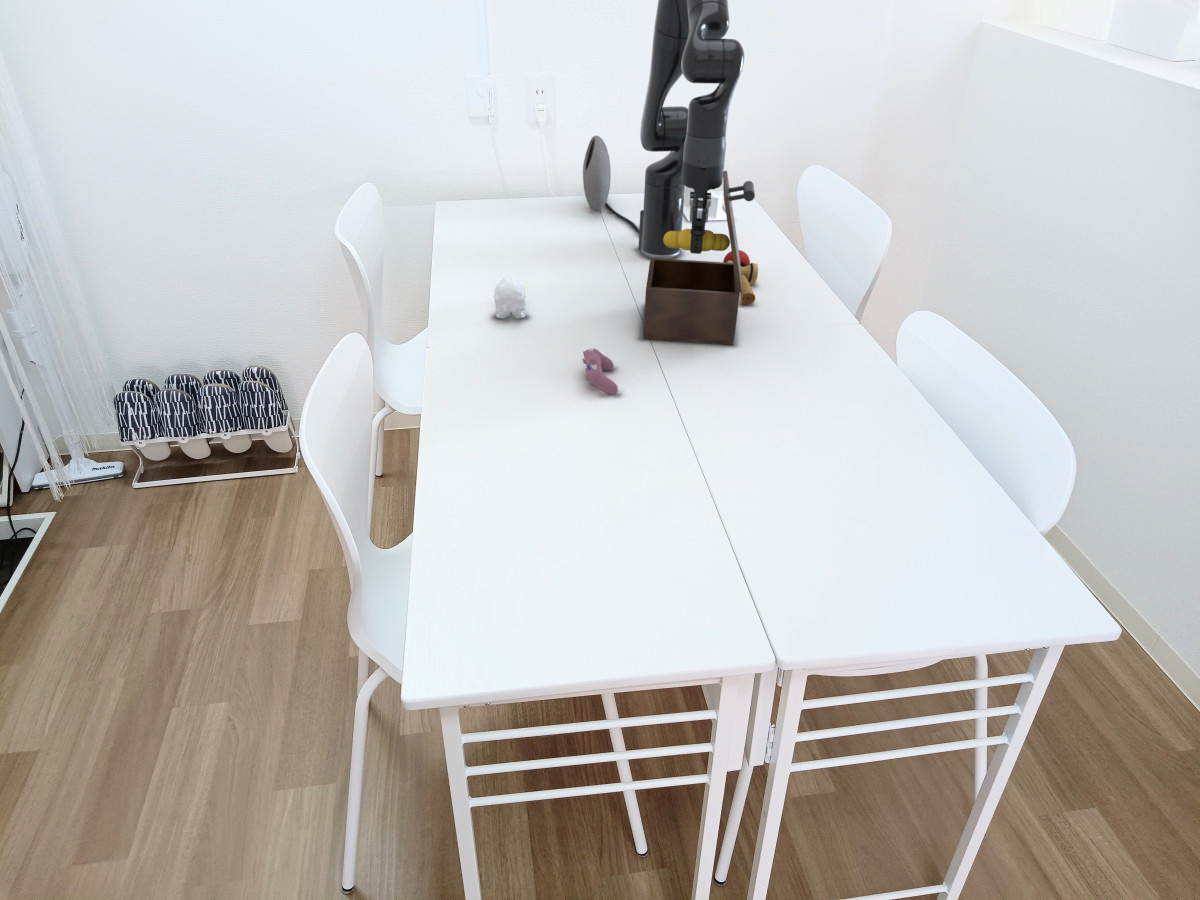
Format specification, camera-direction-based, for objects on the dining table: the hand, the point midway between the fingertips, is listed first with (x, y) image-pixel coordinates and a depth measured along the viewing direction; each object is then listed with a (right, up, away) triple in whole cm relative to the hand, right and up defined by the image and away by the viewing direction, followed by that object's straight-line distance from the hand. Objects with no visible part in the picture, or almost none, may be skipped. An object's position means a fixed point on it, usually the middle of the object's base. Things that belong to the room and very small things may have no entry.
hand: (695, 247), depth 167 cm
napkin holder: (+9, +25, +64) cm, 69 cm away
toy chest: (0, -14, +10) cm, 17 cm away
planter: (-20, +24, +62) cm, 70 cm away
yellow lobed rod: (0, 0, 0) cm, 0 cm away
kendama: (+13, -3, +25) cm, 28 cm away
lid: (+6, +3, -3) cm, 7 cm away
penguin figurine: (-37, -10, +13) cm, 41 cm away
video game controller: (-19, -27, -9) cm, 34 cm away
